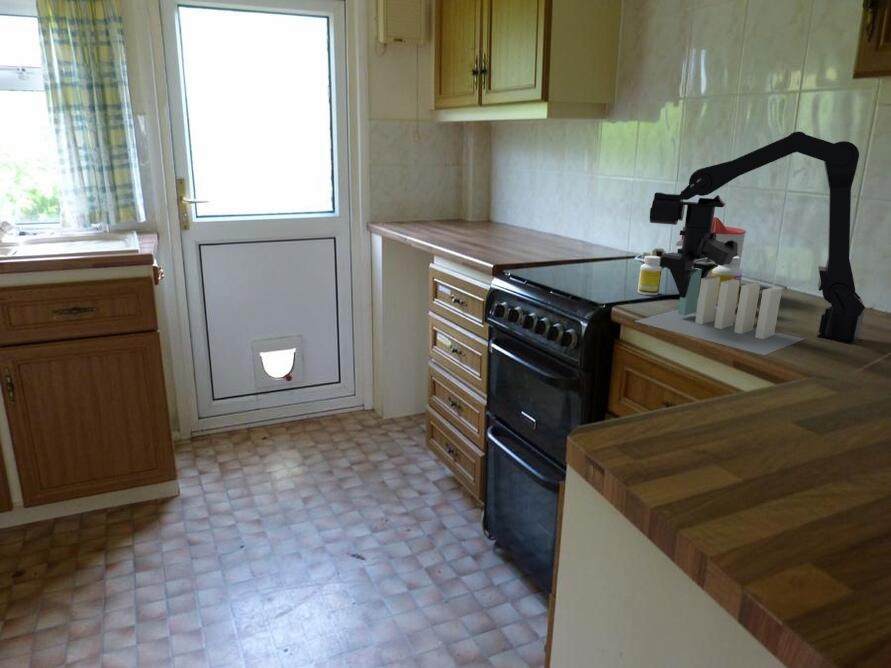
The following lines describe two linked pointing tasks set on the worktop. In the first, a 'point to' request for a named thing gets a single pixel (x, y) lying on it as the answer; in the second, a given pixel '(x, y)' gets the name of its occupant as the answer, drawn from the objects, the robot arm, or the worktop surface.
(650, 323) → the slate mat
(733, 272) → the supplement bottle
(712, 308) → the domino
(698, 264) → the robot arm
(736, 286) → the domino
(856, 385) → the worktop surface
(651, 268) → the supplement bottle
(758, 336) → the domino
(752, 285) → the domino
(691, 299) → the teal domino
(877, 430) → the worktop surface
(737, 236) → the citrus juicer
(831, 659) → the worktop surface
